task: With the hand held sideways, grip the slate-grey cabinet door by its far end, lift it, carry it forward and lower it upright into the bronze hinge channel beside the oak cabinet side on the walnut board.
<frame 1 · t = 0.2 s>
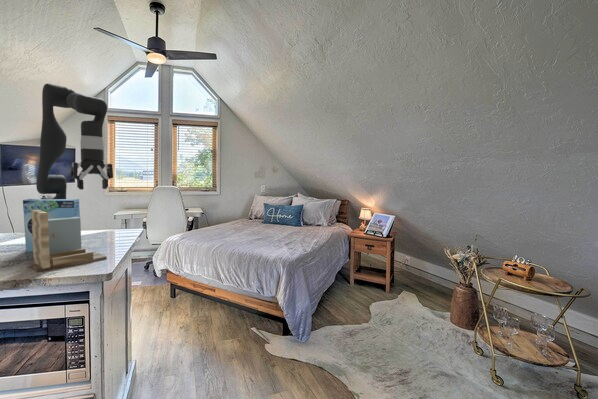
hand: (93, 189, 120), 29 cm above the table, tool pointing down, fingers open, 8 cm apart
hinge base: (69, 262, 119), on the table
gum box: (54, 250, 135), on the table
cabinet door: (62, 256, 126), on the table
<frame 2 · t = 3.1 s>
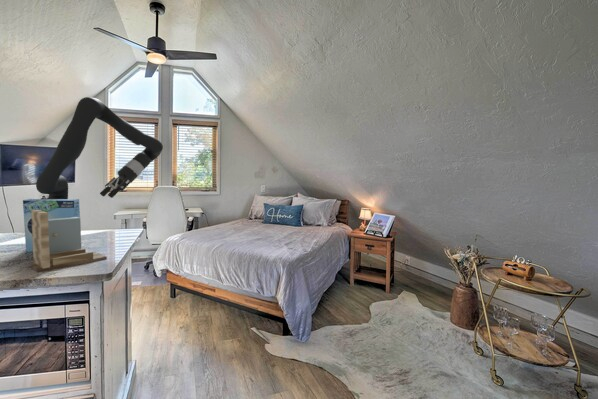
hand: (105, 195, 136), 25 cm above the table, tool tilted 45°, fingers open, 8 cm apart
nothing on the table moved.
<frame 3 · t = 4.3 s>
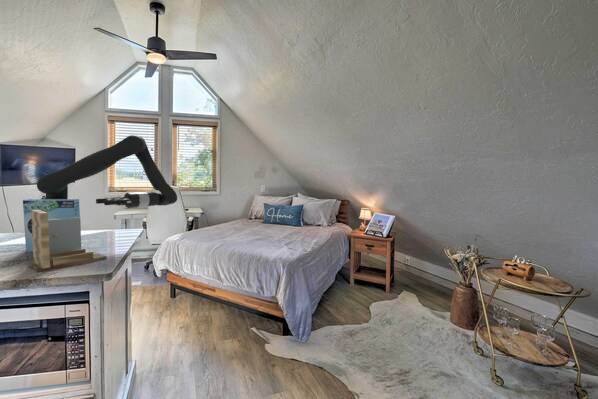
hand: (100, 202, 136), 22 cm above the table, tool horizontal, fingers open, 8 cm apart
nothing on the table moved.
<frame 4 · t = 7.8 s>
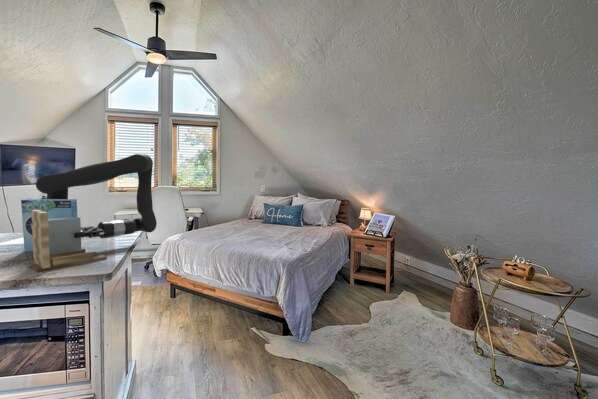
hand: (70, 234, 127), 9 cm above the table, tool horizontal, fingers open, 8 cm apart
gum box: (52, 250, 134), on the table, touching gripper
everything else where it was.
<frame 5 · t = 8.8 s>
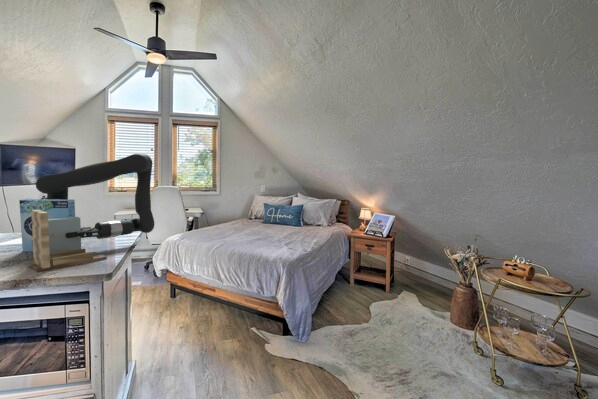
hand: (64, 234, 125), 9 cm above the table, tool horizontal, fingers closed on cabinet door, 4 cm apart
gum box: (50, 251, 134), on the table
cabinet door: (62, 256, 126), on the table, touching gripper
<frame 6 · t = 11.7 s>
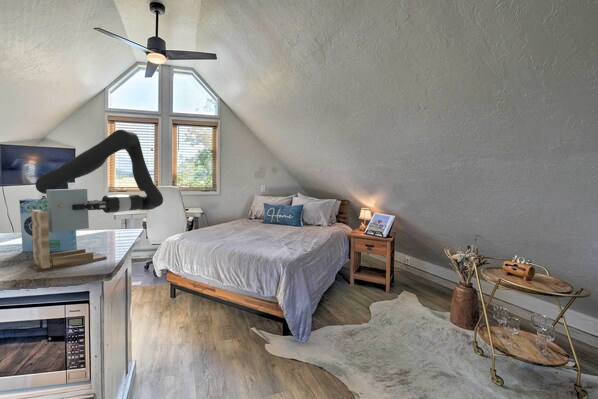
hand: (70, 206, 118), 22 cm above the table, tool horizontal, fingers closed on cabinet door, 4 cm apart
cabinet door: (69, 229, 119), point 13 cm above the table, touching gripper
everything else where it was.
when the fingers open (11 cm above the table, at t = 14.8 s): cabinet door drops 1 cm, resting on hinge base.
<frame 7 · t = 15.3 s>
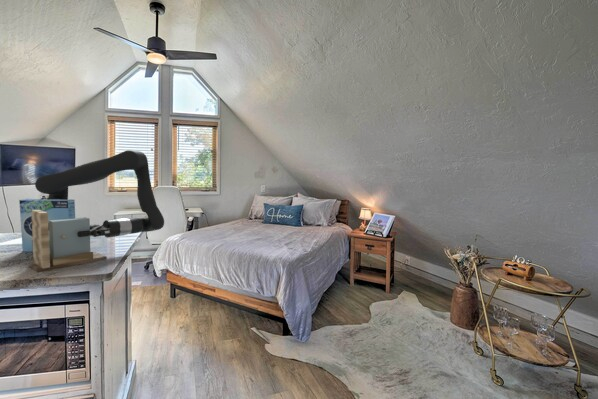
hand: (73, 232, 119), 12 cm above the table, tool horizontal, fingers open, 8 cm apart
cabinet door: (71, 259, 119), point 1 cm above the table, touching hinge base
everything else where it was.
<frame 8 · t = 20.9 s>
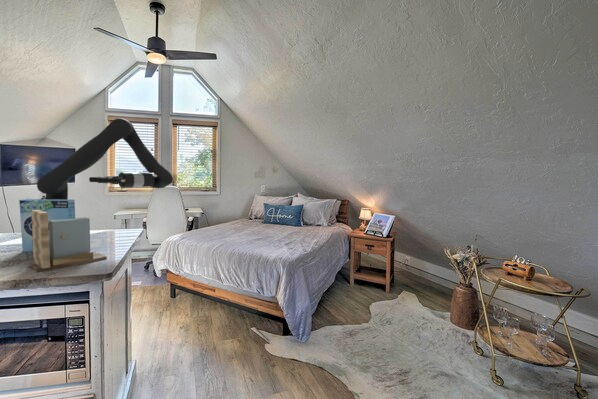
hand: (93, 180, 133), 32 cm above the table, tool horizontal, fingers open, 8 cm apart
nothing on the table moved.
at the end: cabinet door 0.5 cm off-centre on the hinge base, point 1.0 cm above the hinge base's base; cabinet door tilted 0°; the gripper is holding nothing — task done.
